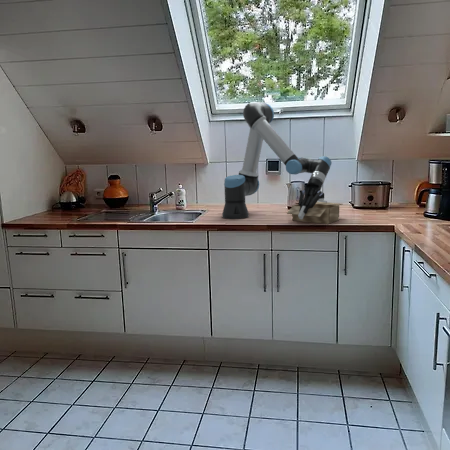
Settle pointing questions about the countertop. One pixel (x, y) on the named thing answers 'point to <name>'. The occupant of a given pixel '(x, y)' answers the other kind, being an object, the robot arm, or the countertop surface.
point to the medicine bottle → (321, 198)
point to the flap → (311, 211)
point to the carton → (326, 218)
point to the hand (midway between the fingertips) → (300, 217)
